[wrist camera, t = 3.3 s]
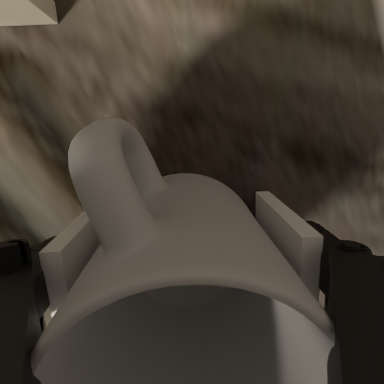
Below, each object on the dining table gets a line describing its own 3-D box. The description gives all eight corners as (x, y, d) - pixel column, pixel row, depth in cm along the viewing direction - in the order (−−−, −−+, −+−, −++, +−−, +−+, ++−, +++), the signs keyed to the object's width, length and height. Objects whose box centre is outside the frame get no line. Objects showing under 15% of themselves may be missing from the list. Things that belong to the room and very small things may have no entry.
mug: (271, 270, 18) (401, 485, 7) (151, 317, 19) (112, 581, 8) (201, 89, 15) (250, 15, 4) (61, 150, 16) (-193, 215, 5)
